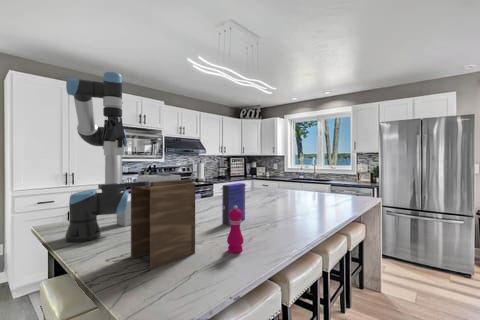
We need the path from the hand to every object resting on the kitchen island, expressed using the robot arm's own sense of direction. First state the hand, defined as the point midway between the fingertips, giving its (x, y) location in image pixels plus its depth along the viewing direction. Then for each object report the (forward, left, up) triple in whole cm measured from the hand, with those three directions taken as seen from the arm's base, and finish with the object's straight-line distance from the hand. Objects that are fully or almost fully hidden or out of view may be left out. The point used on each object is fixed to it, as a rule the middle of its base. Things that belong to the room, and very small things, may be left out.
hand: (113, 155), depth 111 cm
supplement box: (-34, +21, -42) cm, 58 cm away
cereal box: (+10, +69, -42) cm, 81 cm away
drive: (+24, +1, -12) cm, 27 cm away
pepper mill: (+43, +35, -42) cm, 70 cm away
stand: (+24, +11, -42) cm, 49 cm away
